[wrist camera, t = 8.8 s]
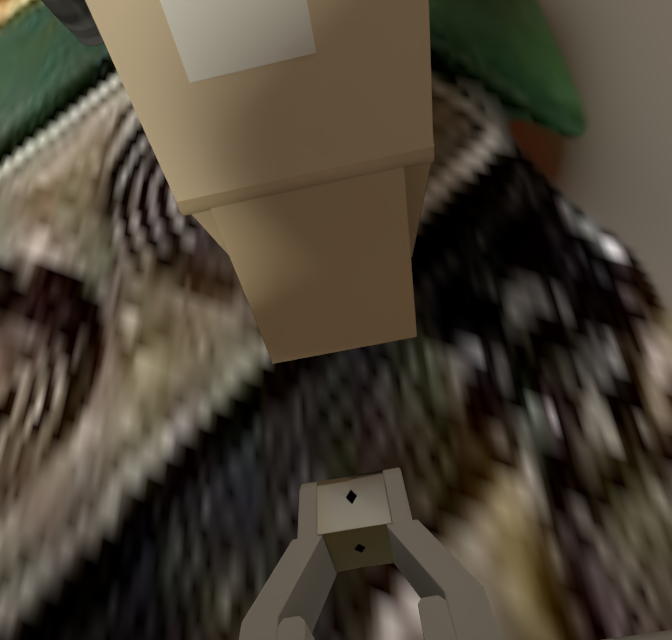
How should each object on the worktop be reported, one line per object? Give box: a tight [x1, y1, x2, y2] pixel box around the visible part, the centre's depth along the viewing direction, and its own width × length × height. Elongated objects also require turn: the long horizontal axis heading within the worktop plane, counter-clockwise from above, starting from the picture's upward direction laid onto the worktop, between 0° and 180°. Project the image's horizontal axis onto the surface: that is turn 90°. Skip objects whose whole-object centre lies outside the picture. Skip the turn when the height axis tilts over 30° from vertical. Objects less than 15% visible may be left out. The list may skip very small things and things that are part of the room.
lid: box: [85, 0, 434, 364], centre depth 14 cm, size 22×10×1 cm
